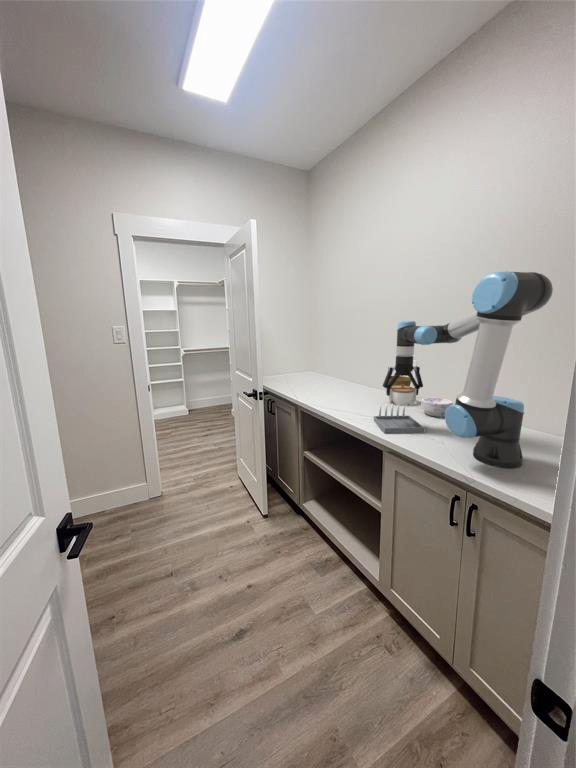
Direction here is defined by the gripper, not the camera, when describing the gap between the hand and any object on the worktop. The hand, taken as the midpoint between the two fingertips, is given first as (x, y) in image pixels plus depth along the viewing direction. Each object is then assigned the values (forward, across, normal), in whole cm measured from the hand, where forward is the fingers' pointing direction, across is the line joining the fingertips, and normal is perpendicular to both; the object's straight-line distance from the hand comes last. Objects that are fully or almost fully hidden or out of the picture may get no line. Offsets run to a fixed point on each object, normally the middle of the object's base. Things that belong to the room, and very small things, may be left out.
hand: (401, 402), depth 145 cm
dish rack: (+13, +1, -1) cm, 13 cm away
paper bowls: (+13, -26, -19) cm, 35 cm away
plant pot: (+13, -13, -42) cm, 46 cm away
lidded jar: (+1, 0, 0) cm, 1 cm away
